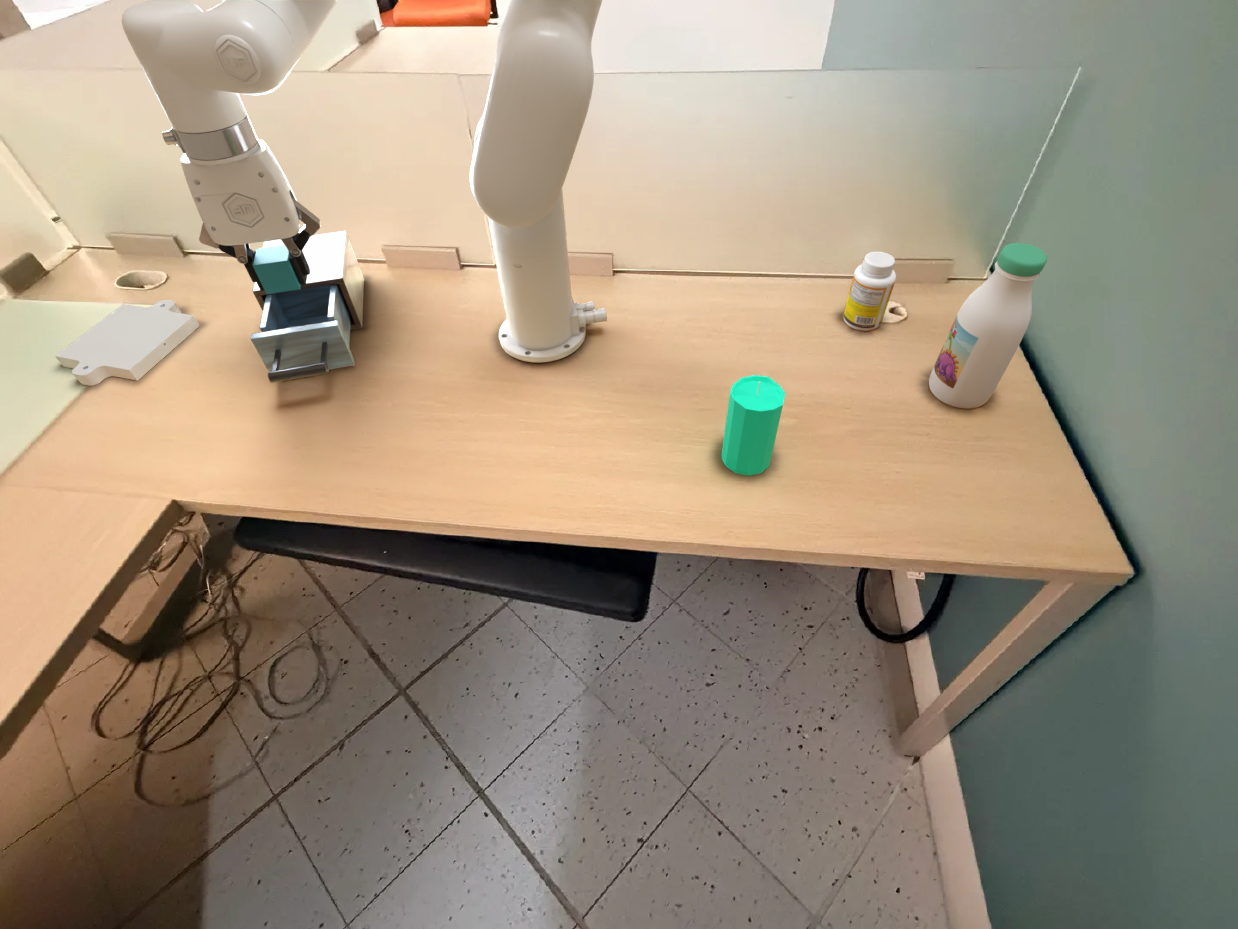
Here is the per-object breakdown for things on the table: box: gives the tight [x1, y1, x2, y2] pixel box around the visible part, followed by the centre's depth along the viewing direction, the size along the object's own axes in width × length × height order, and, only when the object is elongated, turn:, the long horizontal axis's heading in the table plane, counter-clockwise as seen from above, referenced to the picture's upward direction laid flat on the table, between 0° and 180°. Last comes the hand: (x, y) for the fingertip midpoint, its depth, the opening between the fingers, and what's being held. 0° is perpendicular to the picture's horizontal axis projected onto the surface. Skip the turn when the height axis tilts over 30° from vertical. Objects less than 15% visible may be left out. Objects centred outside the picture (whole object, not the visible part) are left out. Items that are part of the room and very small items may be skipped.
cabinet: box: [252, 230, 365, 331], centre depth 98 cm, size 14×12×9 cm
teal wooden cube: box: [253, 245, 301, 294], centre depth 84 cm, size 4×4×4 cm
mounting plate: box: [54, 299, 201, 387], centre depth 96 cm, size 18×13×2 cm
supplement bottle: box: [842, 251, 897, 332], centre depth 92 cm, size 6×6×10 cm
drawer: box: [250, 284, 356, 383], centre depth 89 cm, size 18×11×7 cm, turn 14°
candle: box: [720, 374, 786, 477], centre depth 74 cm, size 6×6×12 cm
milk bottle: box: [928, 242, 1048, 409], centre depth 78 cm, size 8×8×20 cm
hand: (284, 280), depth 85 cm, fingers closed on teal wooden cube, 4 cm apart
